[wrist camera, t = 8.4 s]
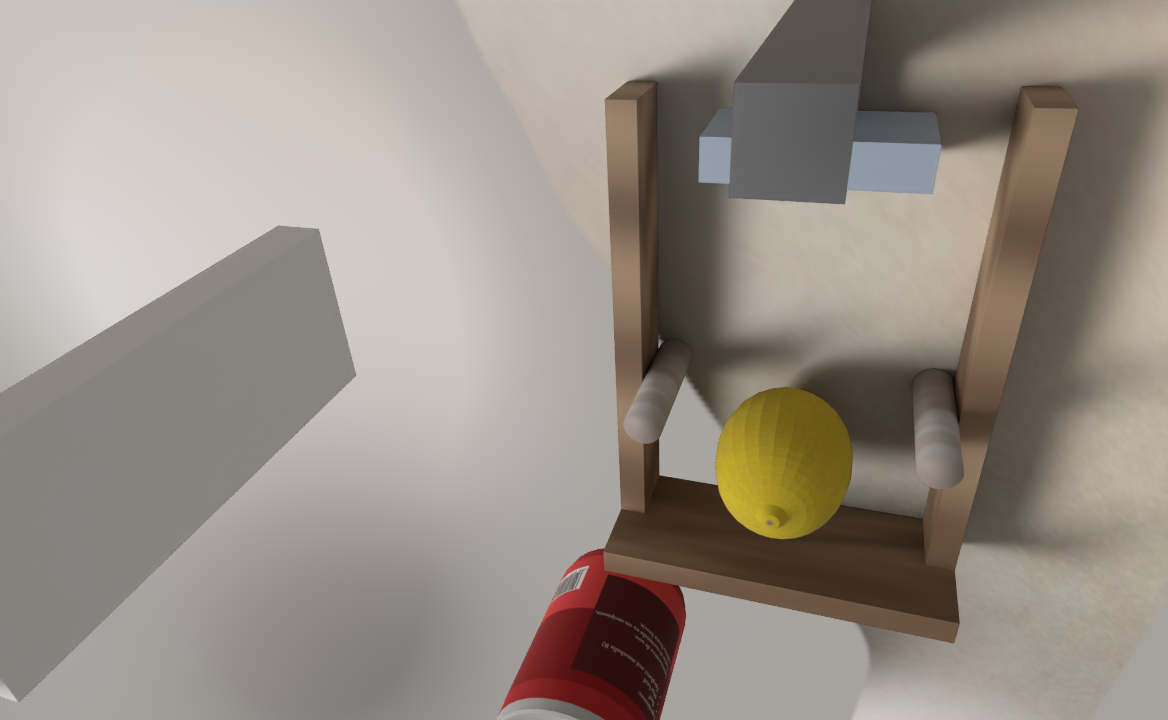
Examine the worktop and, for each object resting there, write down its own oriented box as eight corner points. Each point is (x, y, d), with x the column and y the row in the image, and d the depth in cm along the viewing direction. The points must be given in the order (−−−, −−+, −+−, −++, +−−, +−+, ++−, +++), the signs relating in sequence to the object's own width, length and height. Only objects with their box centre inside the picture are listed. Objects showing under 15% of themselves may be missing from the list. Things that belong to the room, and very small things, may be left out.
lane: (627, 81, 31) (578, 120, 26) (1061, 87, 26) (1099, 135, 21) (637, 489, 42) (604, 570, 37) (945, 542, 37) (954, 643, 32)
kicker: (723, -5, 28) (609, 81, 16) (957, -10, 25) (1010, 86, 14) (718, 149, 30) (618, 312, 19) (927, 157, 28) (952, 347, 17)
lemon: (755, 338, 35) (721, 444, 28) (877, 381, 34) (871, 500, 27) (719, 430, 38) (682, 543, 32) (830, 471, 37) (814, 596, 31)
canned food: (566, 621, 49) (495, 785, 40) (564, 529, 45) (484, 690, 36) (684, 654, 47) (637, 833, 38) (694, 561, 43) (643, 739, 34)
